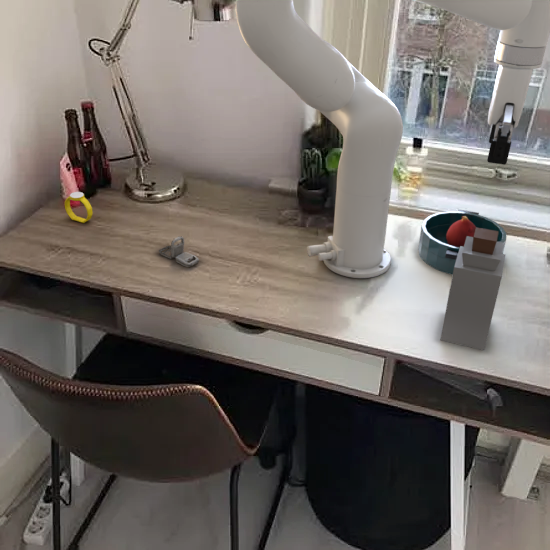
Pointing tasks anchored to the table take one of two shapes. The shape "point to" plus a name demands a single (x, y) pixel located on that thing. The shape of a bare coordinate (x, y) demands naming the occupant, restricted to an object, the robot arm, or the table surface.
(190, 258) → the strap clip
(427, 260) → the pot
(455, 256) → the pot handles
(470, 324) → the perfume bottle
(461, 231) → the onion
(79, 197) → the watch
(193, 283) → the table surface
